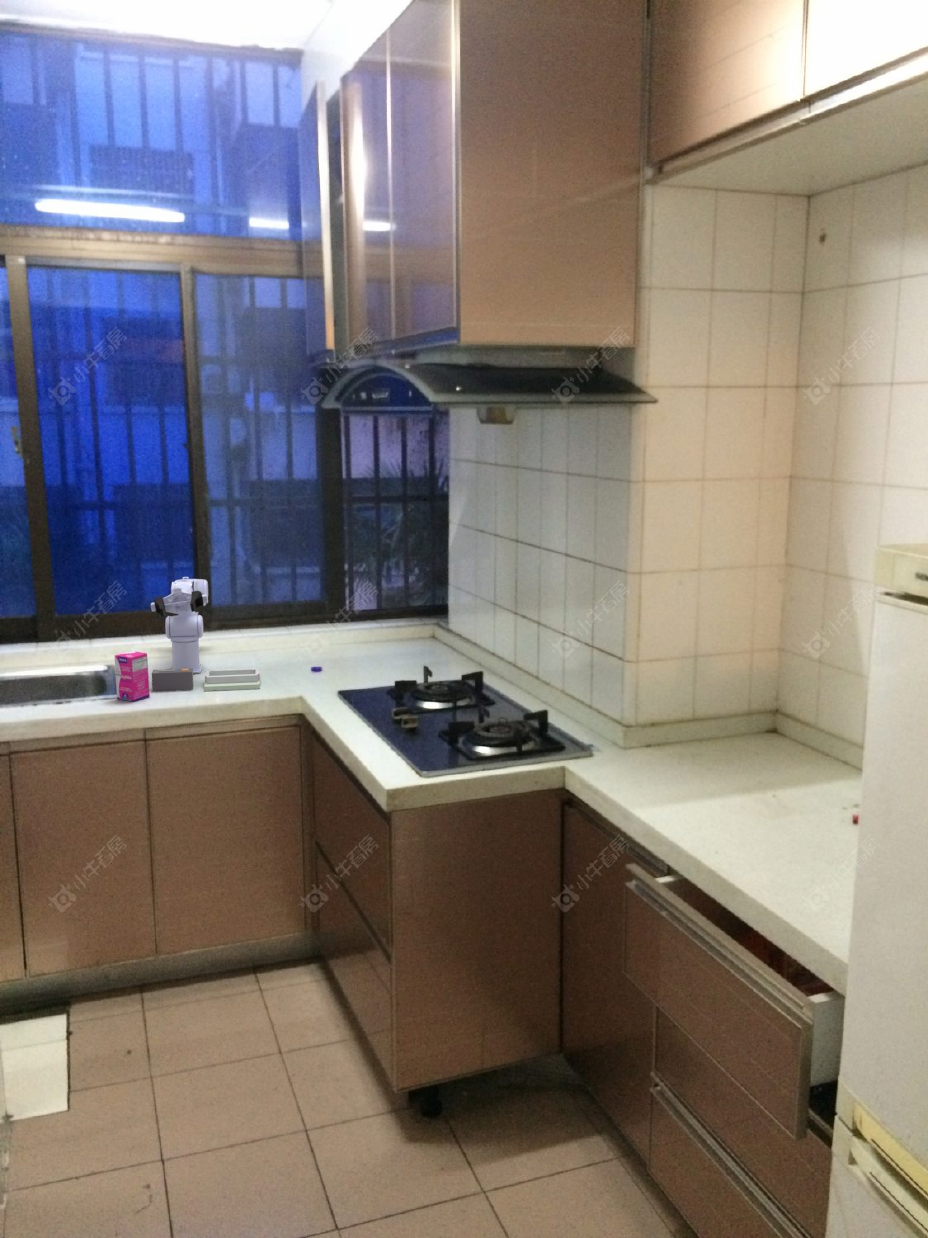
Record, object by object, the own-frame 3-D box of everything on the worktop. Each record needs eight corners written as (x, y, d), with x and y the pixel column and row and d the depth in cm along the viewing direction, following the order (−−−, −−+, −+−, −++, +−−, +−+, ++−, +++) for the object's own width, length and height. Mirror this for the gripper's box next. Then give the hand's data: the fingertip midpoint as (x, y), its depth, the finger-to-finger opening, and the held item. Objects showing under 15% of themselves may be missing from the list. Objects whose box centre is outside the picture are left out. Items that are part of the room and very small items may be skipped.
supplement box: (116, 699, 256) (113, 654, 254) (133, 694, 261) (131, 650, 259) (133, 702, 253) (130, 657, 251) (150, 697, 259) (148, 652, 256)
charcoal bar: (154, 688, 268) (153, 669, 267) (193, 687, 270) (192, 667, 269) (152, 692, 264) (151, 672, 263) (192, 690, 266) (191, 670, 265)
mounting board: (206, 678, 278) (206, 667, 277) (259, 676, 280) (259, 665, 280) (204, 691, 264) (203, 679, 264) (259, 688, 267) (259, 677, 266)
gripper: (150, 588, 274) (145, 599, 261) (205, 580, 277) (202, 590, 264) (155, 613, 276) (150, 625, 263) (210, 605, 278) (207, 616, 265)
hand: (177, 610), depth 264 cm, fingers open, 7 cm apart
